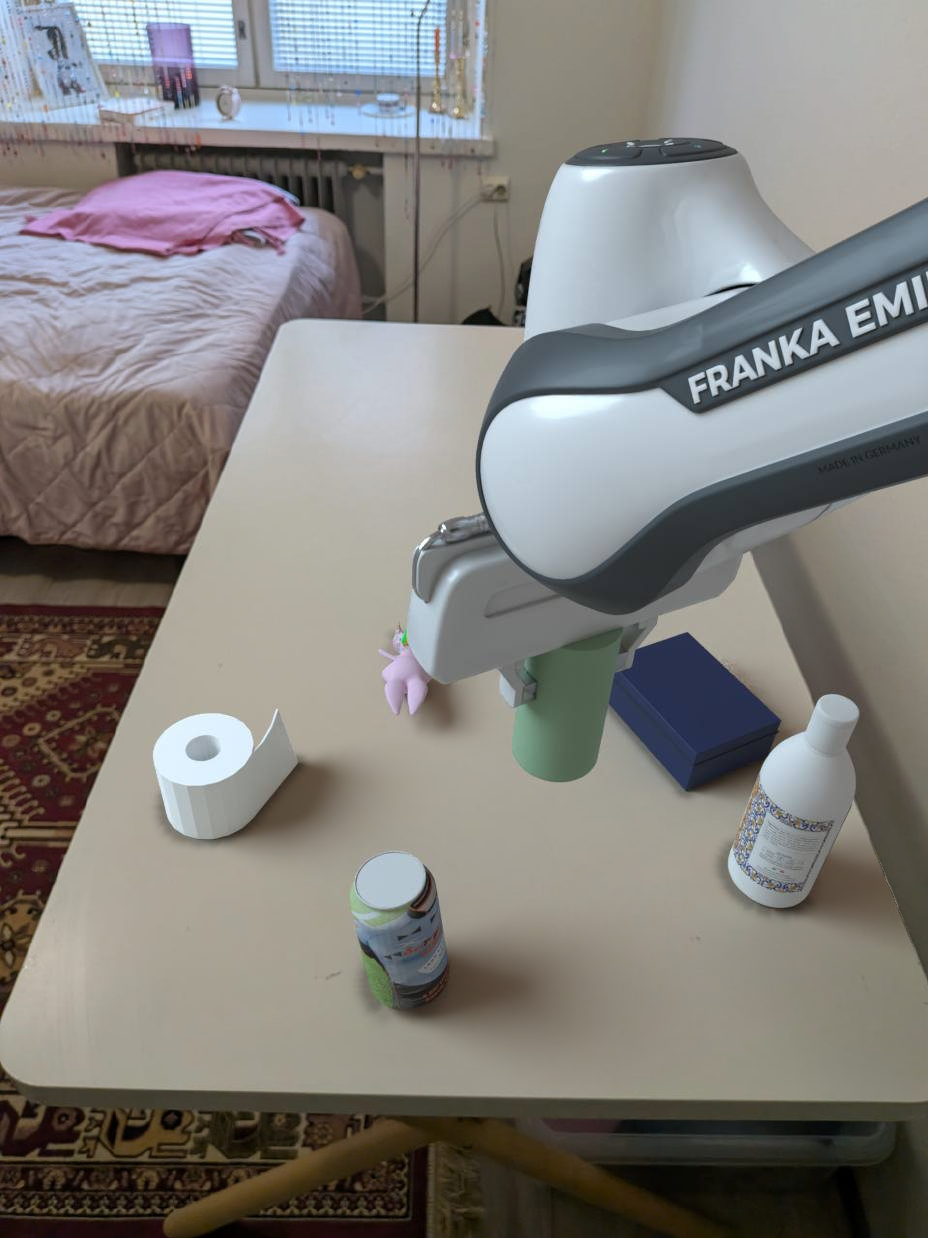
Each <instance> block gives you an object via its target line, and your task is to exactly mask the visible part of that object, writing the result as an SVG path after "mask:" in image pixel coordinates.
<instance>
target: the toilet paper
mask: <svg viewBox="0 0 928 1238" xmlns="http://www.w3.org/2000/svg"><path fill="white" fill-rule="evenodd" d="M152 759H153V765H154V771H155V774H156V777H157V781H158V785H159V789H160V793H161V798H162V801H163V805H164V809H165V813H166V814H165V815H166V817H167V820H168V821H169V823H170V825H171V826H172V827H173V829H174V830H176V831H177V832H179V833H181V834H182V835H183V836H185V837H189V838H192V839H196V840H215V839H220V838H224V837H228V836H231V835H232V834H234V833H236V832H238V831H240V830H242V829H243V828H245V827H246V826H247V825H248V824H249V823H250V822H251V821H252V820H253V819H254V818H255V817H256V816H257V814H258V813H259V812H260V811H261V809H262V808H263V807H264V806H265V805H266V803H267V802H268V801H269V800H270V798H271V797H272V796H273V795H274V793H275V792H276V791H277V790H278V788H279V787H280V786H281V785H282V783H283V782H285V780H286V779H287V777H289V775H290V774H291V773H292V771H293V770H294V769H295V767H296V766H297V765H298V764H299V762H298V759H297V756H296V754H295V751H294V748H293V745H292V743H291V741H290V738H289V735H288V732H287V729H286V727H285V724H284V721H283V719H282V716H281V712H280V711H279V709H278V708H275V711H274V714H273V716H272V720H271V722H270V725H269V727H268V729H267V731H266V732H265V735H264V736H263V738H262V739H261V741H260V742H259V744H258V745H257V746H256V747H255V743H254V738H253V735H252V731H251V730H250V729H249V728H248V726H247V725H246V724H245V723H244V722H243V721H241V720H239V719H238V718H236V717H234V716H231V715H227V714H224V713H216V712H215V713H214V712H213V713H212V712H211V713H207V712H205V713H199V714H195V715H190V716H188V717H185V718H183V719H180V720H179V721H177V722H174V723H173V724H172V725H170V726H169V727H168V728H167V729H165V730H164V731H163V732H162V733H161V734H160V736H159V737H158V739H157V740H156V741H155V744H154V748H153V751H152Z"/></svg>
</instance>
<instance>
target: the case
mask: <svg viewBox="0 0 928 1238" xmlns="http://www.w3.org/2000/svg"><path fill="white" fill-rule="evenodd" d="M608 706H609V707H611V709H612V710H613V711H614V712H615V713H616V714H617V715H618V716H619V718H620V719H621V720H622V721H623V722H624V723H625V724H626V726H627V727H628V728H629V729H630V730H631V731H632V732H633V734H635V736H636V737H637V738H638V739H639V740H640V741H641V743H642V744H643V745H644V746H645V747H646V748H647V749H648V750H649V752H650V753H651V754H652V755H653V756H654V757H655V758H656V759H657V760H658V762H659V763H660V764H661V765H662V766H663V767H664V768H665V770H666V771H667V772H668V773H669V774H670V775H671V776H672V778H673V779H674V780H675V781H676V782H677V783H678V785H680V786H681V787H682V788H683V790H684V791H685V792H687V791H690V790H692V789H694V788H697V787H699V786H702V785H704V784H706V783H709V782H711V781H713V780H717V779H718V778H720V777H723V776H725V775H728V774H730V773H732V772H735V771H738V770H739V769H742V768H745V767H747V766H749V765H751V764H754V763H756V762H758V761H761V760H763V759H766V758H767V757H768V755H769V754H770V753H771V751H772V747H773V745H774V741H775V740H776V737H777V735H779V732H780V731H779V729H780V726H781V724H782V719H781V718H780V717H779V716H778V715H777V714H775V713H774V712H773V710H771V709H770V708H769V707H768V705H766V704H765V703H764V702H763V701H762V700H760V698H758V697H757V696H756V695H755V694H754V692H752V691H751V690H750V689H749V688H748V687H747V686H746V685H745V684H744V683H743V682H742V681H740V680H739V679H738V678H737V677H736V675H734V674H733V673H732V672H731V671H730V670H729V669H728V668H727V667H726V666H725V665H724V664H723V663H721V661H720V660H718V659H717V657H715V656H714V655H713V654H712V653H711V652H710V651H709V650H708V649H707V648H705V647H704V646H703V644H701V643H700V642H699V641H698V640H697V639H696V638H695V637H694V636H693V635H692V634H691V633H690V632H689V631H686V632H683V633H679V634H677V635H673V636H670V637H668V638H665V639H662V640H659V641H656V642H653V643H649V644H647V645H643V646H641V647H638V648H637V649H635V654H634V658H633V663H632V667H631V668H629V669H625V670H623V671H620V672H616V673H615V674H614V679H613V684H612V689H611V694H610V699H609V704H608Z"/></svg>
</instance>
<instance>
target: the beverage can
mask: <svg viewBox="0 0 928 1238" xmlns="http://www.w3.org/2000/svg"><path fill="white" fill-rule="evenodd" d="M348 895H349V898H348V901H349V907H350V912H351V916H352V921H353V924H354V927H355V928H354V929H355V932H356V937H357V941H358V945H359V949H360V952H361V955H362V961H363V964H364V968H365V973H366V977H367V980H368V985H369V988H370V990H371V993H372V994H373V996H374V998H375V999H376V1000H377V1001H379V1003H381V1004H382V1005H384V1006H385V1007H388V1008H390V1009H393V1010H397V1011H412V1010H413V1011H414V1010H417V1009H420V1008H422V1007H423V1008H424V1007H425V1006H427V1005H429V1004H430V1003H432V1002H433V1001H435V1000H436V999H437V998H438V997H439V996H440V995H441V993H443V991H444V989H445V987H446V986H447V983H448V980H449V976H450V963H449V958H448V951H447V945H446V944H447V943H446V939H445V933H444V926H443V920H442V919H443V918H442V912H441V908H440V900H439V895H438V889H437V883H436V880H435V877H434V876H433V874H432V872H431V870H430V869H429V868H428V867H427V866H426V865H424V864H423V863H422V862H421V860H420V859H418V858H417V857H416V856H415V855H414V854H411V853H409V852H406V851H401V850H389V851H384V852H380V853H378V854H375V855H373V856H371V857H370V858H368V859H367V860H366V861H365V862H363V864H362V865H360V867H359V868H358V870H357V871H356V874H355V876H354V880H353V882H352V883H351V886H350V889H349V894H348Z"/></svg>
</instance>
